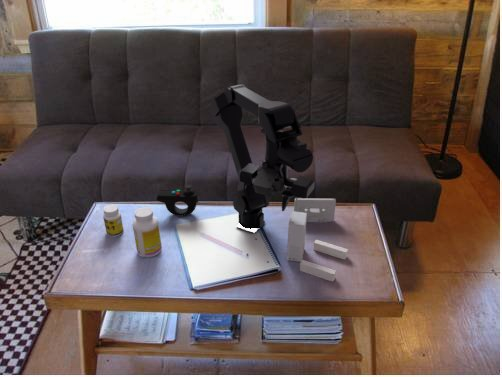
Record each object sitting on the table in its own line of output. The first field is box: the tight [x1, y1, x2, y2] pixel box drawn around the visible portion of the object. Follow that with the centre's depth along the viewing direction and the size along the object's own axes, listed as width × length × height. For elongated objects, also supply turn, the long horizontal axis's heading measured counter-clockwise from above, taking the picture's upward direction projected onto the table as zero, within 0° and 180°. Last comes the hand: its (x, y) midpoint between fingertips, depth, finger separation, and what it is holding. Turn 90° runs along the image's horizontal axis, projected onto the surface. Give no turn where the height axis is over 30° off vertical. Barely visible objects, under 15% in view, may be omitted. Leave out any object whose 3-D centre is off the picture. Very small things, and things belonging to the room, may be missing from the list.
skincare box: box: [286, 210, 307, 263], centre depth 122 cm, size 6×4×12 cm
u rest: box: [299, 239, 349, 282], centre depth 122 cm, size 9×11×2 cm
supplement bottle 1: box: [102, 204, 124, 238], centre depth 132 cm, size 5×5×8 cm
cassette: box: [293, 197, 337, 223], centre depth 137 cm, size 12×2×8 cm, turn 89°
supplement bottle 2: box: [132, 206, 162, 258], centre depth 124 cm, size 7×7×13 cm
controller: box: [156, 184, 199, 217], centre depth 139 cm, size 4×12×10 cm, turn 90°
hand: (275, 208), depth 121 cm, fingers open, 4 cm apart
